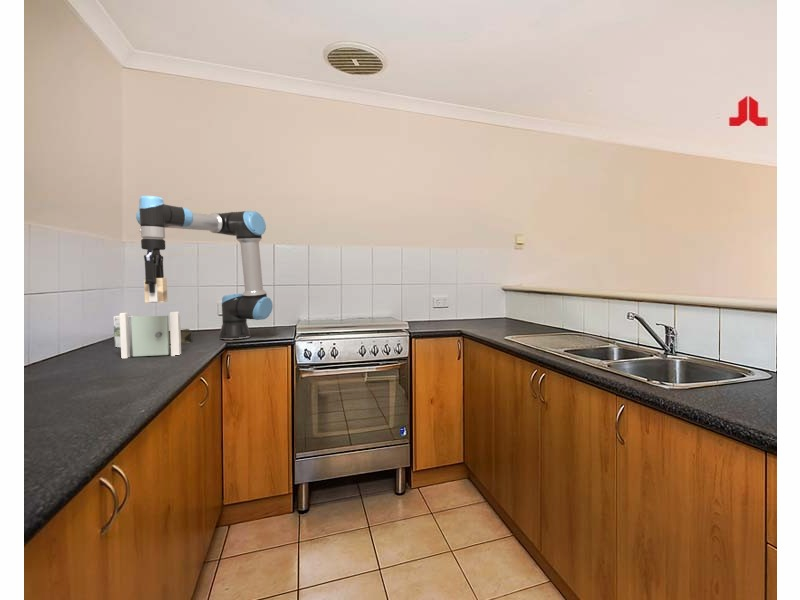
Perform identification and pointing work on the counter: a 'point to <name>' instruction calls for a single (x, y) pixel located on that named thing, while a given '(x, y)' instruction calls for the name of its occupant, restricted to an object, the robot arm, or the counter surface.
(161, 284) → the tan rectangular block
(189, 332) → the beverage carton
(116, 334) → the syrup box
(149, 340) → the door
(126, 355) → the white piece
